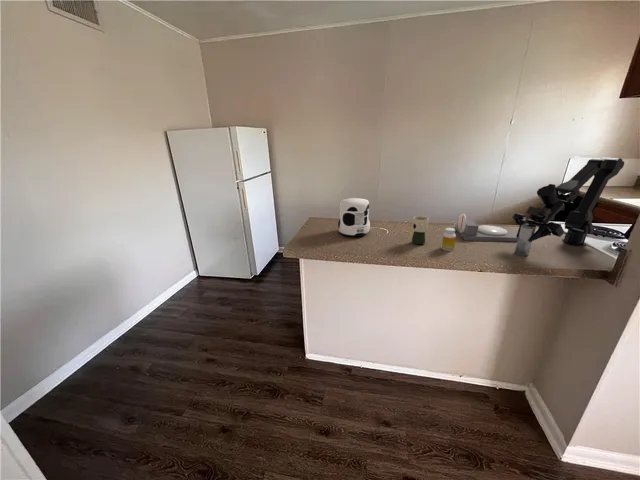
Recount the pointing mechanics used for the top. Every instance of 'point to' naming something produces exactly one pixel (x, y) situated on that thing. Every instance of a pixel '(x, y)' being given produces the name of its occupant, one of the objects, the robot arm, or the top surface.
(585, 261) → the top surface
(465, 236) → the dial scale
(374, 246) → the top surface
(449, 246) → the supplement bottle
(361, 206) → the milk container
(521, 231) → the ball
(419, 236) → the character mug
